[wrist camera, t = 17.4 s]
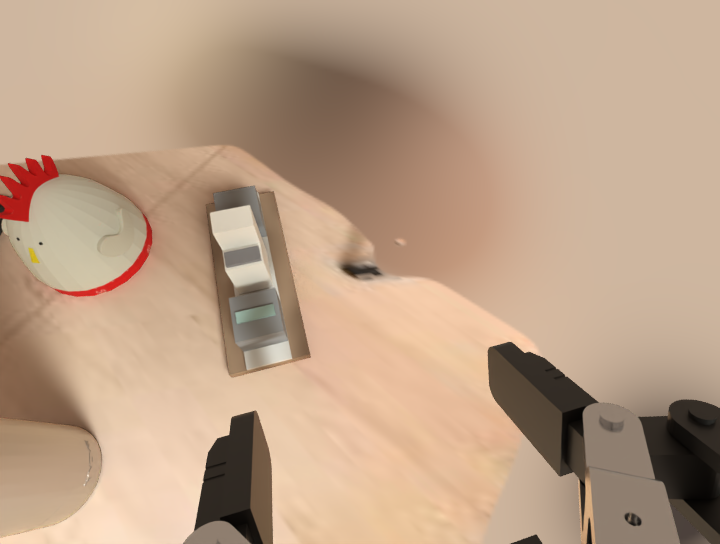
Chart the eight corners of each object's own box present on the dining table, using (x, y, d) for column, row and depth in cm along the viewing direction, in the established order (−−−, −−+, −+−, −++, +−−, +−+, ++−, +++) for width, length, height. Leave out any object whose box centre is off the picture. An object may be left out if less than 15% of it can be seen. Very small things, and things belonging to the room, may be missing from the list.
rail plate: (232, 377, 45) (216, 366, 39) (209, 210, 54) (193, 181, 48) (310, 357, 46) (306, 343, 41) (275, 197, 55) (267, 168, 50)
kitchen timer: (15, 283, 49) (-111, 216, 35) (71, 193, 54) (-18, 105, 41) (124, 306, 48) (38, 247, 34) (169, 212, 54) (111, 130, 40)
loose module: (239, 294, 47) (215, 255, 38) (234, 257, 49) (209, 212, 40) (273, 286, 48) (257, 246, 39) (266, 250, 50) (249, 204, 41)
